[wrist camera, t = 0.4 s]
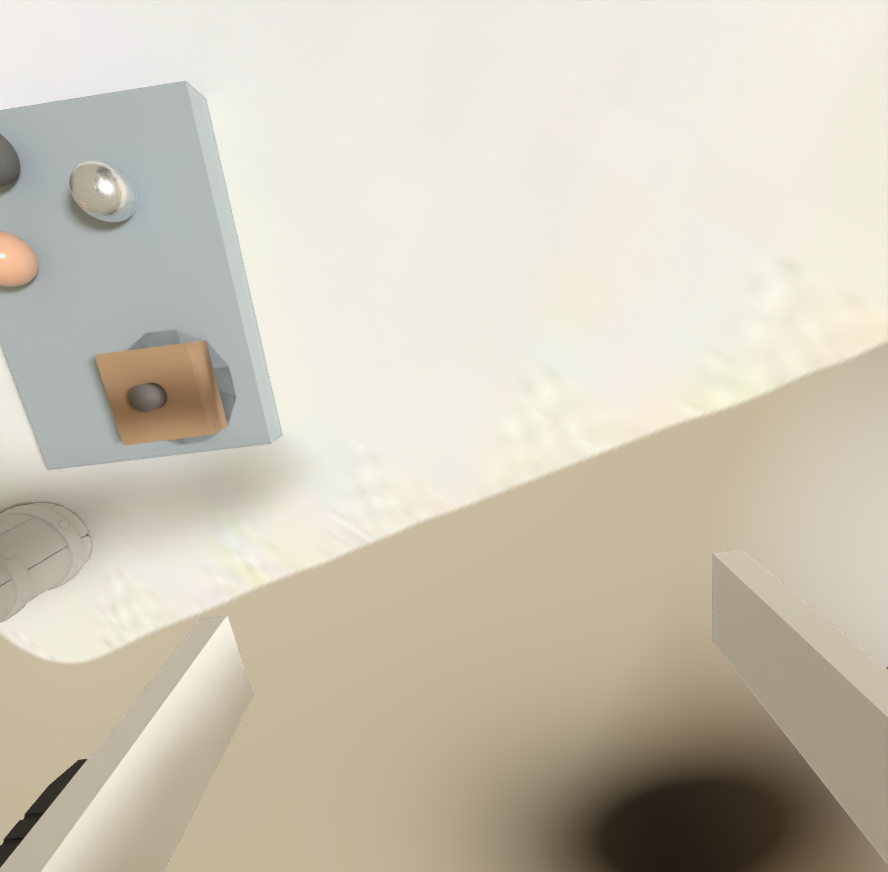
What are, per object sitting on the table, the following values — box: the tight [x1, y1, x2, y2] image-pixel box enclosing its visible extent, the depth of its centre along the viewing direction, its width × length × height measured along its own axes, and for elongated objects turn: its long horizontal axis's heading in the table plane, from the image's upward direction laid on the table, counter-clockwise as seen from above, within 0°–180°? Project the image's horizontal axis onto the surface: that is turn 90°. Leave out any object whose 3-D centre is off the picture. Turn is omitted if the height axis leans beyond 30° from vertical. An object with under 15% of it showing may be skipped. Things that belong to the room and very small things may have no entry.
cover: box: [94, 340, 228, 445], centre depth 32 cm, size 6×6×4 cm
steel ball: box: [69, 160, 138, 222], centre depth 29 cm, size 4×4×4 cm
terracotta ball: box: [0, 231, 38, 287], centre depth 30 cm, size 4×4×4 cm
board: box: [0, 81, 282, 470], centre depth 34 cm, size 24×18×2 cm
